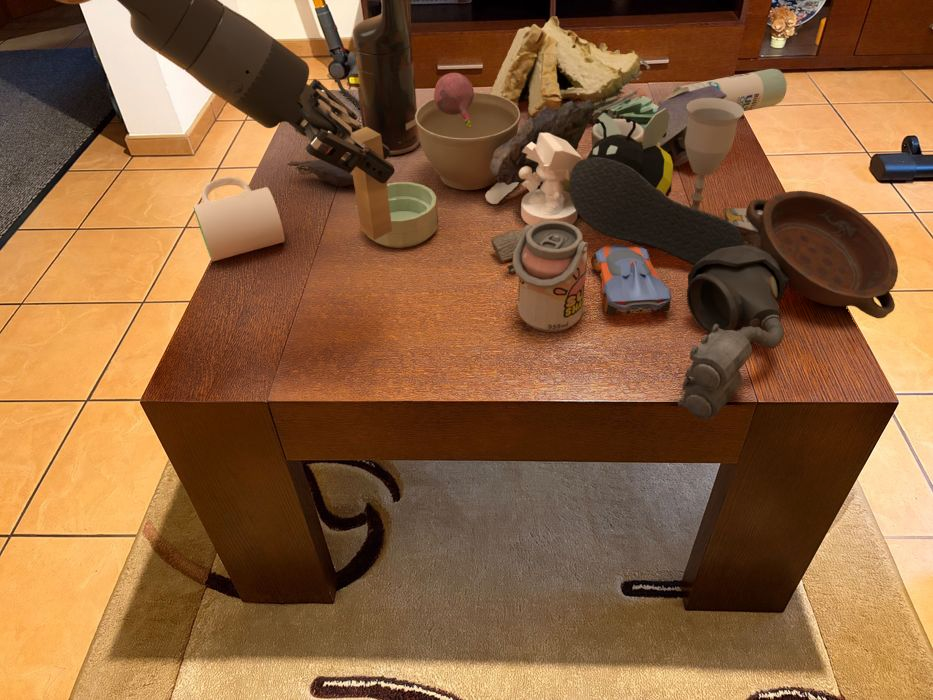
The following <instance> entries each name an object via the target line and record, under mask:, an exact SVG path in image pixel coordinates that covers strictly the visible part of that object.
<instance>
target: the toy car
mask: <svg viewBox="0 0 933 700" xmlns="http://www.w3.org/2000/svg"><path fill="white" fill-rule="evenodd" d="M590 265H591V266H592V268H593V270H594V271H595V272H597V273H599V275H600V278H601V287H600V288H601V290H602V293H601V294H602V296H603V299H602V307H603V312H604V314H605V315H608V316H609V315H617V312H618V311H620V312H622V313H626V316H630V314H634V313H635V314H639V313H650V314H652V315H655V313H654V312H653V311H656V313H666V312H669V311H670V308H671V300H672V294H671V290H670V288H669V287H668V286H667V285H666V284H665V283H664V281H662V279H661V278H660V277H659V274H658V273H657V272H656V270H655V268H654V266H653V264H652V262H651V259H650V255H649V252H648V250H647V249H646V248H645V247H642V246H638V245H634V244H613V245H605V246H603V247H601V248H599V249H598V250H597V251H596V252H595V253H594V254H593V256H591V259H590ZM652 310H653V311H652Z"/></svg>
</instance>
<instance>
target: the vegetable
mask: <svg viewBox="0 0 933 700" xmlns="http://www.w3.org/2000/svg"><path fill="white" fill-rule="evenodd" d="M474 92H475V91H474V87H473V85H472V82H471V81H470V80H469V79H468V78H467V77H466V76H465V75H463V74H461V73H460V72H449V73H446V74H444V75H440V77H439V79H438V80H437V81H436V85H435V88H434V92H433V98H434V100H435V103H436V105H437V107H438V108H439V109H440V110H441V111H442V112H444V113H446V114H451V115H456V114H460V113H461V114H462V116H463V118H464V120H465V124H467V126H468V127H469V128H471V121H470V116H469V113H468V107H469V106H470V105H471V103H472V100H473V97H474Z"/></svg>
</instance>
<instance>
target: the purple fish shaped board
mask: <svg viewBox="0 0 933 700" xmlns="http://www.w3.org/2000/svg"><path fill="white" fill-rule="evenodd" d="M725 97H727V95H726V94H725V93H723V92H722V91H720V90H719V89H717V88H715V87H713V86H707V87H704V88H700V89H697V90H693V91H689V88H688V87H684V88H682V89H680V90H678V91H676V92H674V93H673V92H672V93H671V94H669V95H667V96H666V97H664V98H663V99H661V100H660V101H658V104H657V105H658V106H659V107H658V109H657V111H656V113H658V112H659V111H661V110H663V109H665V108H666V109H667V111H668V113H669V116H670V119H669V124H668V129H667V131H666V133H665V134H664V135H663V137H662V138H661V140H660V141H659V144H660V146H662V145H663V144H664V143H666V142H667V141H669V144H670V147H671V150H672V151H671V153H672V156H673V160H674V162H673V166H674V167H675V168H677V167H679V166H682V165H683V164H685V163H687V162H689V159H688V157H687V153H686V149H683V148H682V147H681V146H680V144H679V142H678V138H679V137H682V139H683V142H684V145H685V136H686V130H687V125H688V119H689V114H688V111H687V104H688V103H689V102H690V101H693V100H695V99H700V98H719V99H724V98H725ZM656 113H655V114H656ZM685 148H686V147H685Z"/></svg>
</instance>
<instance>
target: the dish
mask: <svg viewBox="0 0 933 700" xmlns="http://www.w3.org/2000/svg"><path fill="white" fill-rule="evenodd" d="M746 209H747V210H746V216H747V219H748V220H749V222H750V223H751V224H752V225H753V226H754V227H755V228H756V229H757V230H758V232H759V234H760V237H761V250H763V251H765V252H767V253H769V254H770V255H771V256H772V257H773V258H774V259H775V260H776V261H777V262H778V265H779V267H780V269H781V271H782V272H783V273H784V274H785V275H787V276H788V277H789V279H790V280H789V282H788V283H787V284H786V286H787V287H789V288H790V289H792V290H793V291H794V292H795V293H797V294H799V295H800V296H802V297H804V298H806V299H809V300H811V301H814V302H816V303H819V304H821V305H825V306H830V307H854V308H857V309H858V310H859V311H861V312H863V313H864V314H865V315H868V316H870V317H873V318H875V319H884V318H885V317H887V316H888V315H889V314H891V313H893V311H894V310H895V308H896V304H895V300H894V297H893V295H892V294H891V293H890V291H892V290H893V289H894V287H895V286H896V283H897V280H898V275H899V267H898V262H897V258H896V256H895V255H896V254H895V252H894V250H893V248H892V246H891V245H890V243H889V242H888V240H887V239H886V238H885V236H884V234H883V233H882V232H881V231H880V230H879V229H878V227H876V226H875V224H873V222H871V221H870V220H869V219H868V218H867V217H866V216H865V215H864V214H862V213H861V212H859V211H858V210H857V209H855V208H854V207H852V206H851V205H848V204H846V203H844V202H843V201H840V200H839V199H837V198H834V197H832V196H829V195H826V194H823V193H819V192H813V191H809V190H793V191H792V190H790V191H786V192H782V193H777V194H776V195H773V196H772V197H771V198H769V199H763V198H756V199H753V200H751V201H750V202H749V203H748V205H747V208H746ZM755 210H761V211H763V213H762V215H759V214H757V213H756V212H755ZM875 299H876V300H877V301H878V302H879V303H877V302H876V301H875ZM879 304H880V305H879Z"/></svg>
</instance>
